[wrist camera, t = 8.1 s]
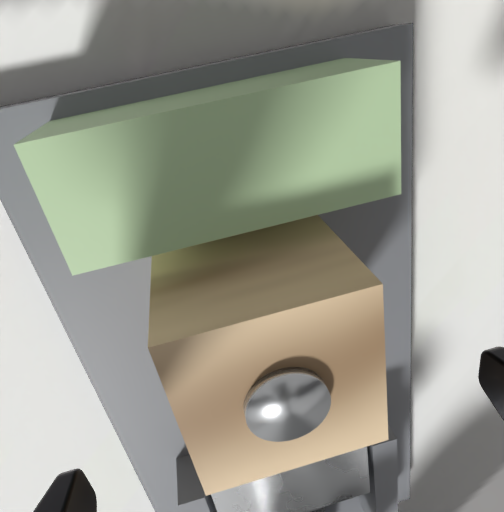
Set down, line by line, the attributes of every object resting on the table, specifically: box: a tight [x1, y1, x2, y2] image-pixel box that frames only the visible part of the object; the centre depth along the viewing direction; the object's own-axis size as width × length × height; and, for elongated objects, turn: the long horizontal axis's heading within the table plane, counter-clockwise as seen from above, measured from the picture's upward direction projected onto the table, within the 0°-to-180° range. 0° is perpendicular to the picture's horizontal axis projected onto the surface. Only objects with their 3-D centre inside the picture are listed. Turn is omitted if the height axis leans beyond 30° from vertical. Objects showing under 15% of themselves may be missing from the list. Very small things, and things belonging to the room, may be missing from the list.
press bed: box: [0, 23, 413, 512], centre depth 15 cm, size 22×12×4 cm, turn 10°
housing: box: [148, 215, 388, 496], centre depth 12 cm, size 5×5×5 cm
